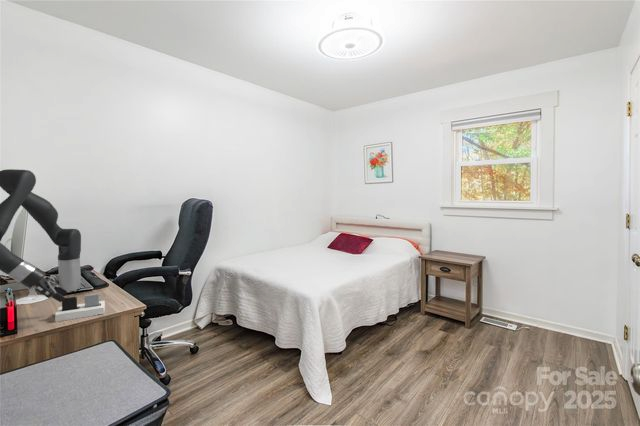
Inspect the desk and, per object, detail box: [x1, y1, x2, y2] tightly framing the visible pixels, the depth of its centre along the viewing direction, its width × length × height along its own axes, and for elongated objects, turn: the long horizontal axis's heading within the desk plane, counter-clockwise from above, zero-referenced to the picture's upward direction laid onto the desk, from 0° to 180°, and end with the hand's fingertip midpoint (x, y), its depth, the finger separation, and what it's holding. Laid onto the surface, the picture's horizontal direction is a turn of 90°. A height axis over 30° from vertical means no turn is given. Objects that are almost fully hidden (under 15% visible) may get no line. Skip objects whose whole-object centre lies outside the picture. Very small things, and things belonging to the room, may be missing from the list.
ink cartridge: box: [61, 296, 78, 311], centre depth 137 cm, size 5×2×8 cm, turn 121°
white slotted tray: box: [54, 292, 106, 323], centre depth 139 cm, size 10×17×8 cm, turn 122°
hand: (64, 297), depth 136 cm, fingers open, 8 cm apart
